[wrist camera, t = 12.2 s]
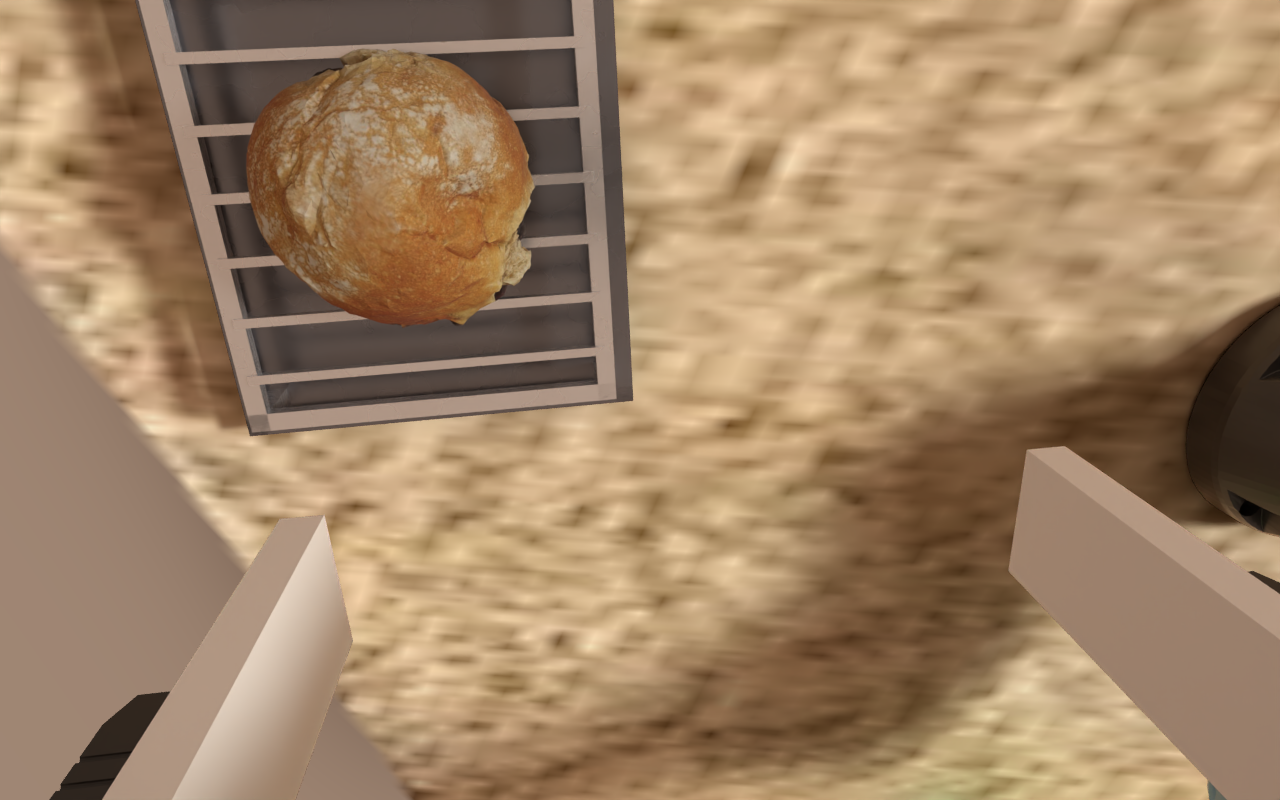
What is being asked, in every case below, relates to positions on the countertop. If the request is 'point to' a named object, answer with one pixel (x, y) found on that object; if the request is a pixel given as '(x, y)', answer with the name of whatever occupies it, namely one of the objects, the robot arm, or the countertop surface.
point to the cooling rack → (439, 351)
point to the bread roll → (393, 188)
